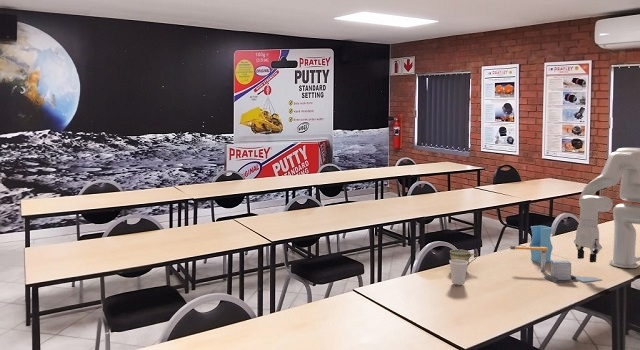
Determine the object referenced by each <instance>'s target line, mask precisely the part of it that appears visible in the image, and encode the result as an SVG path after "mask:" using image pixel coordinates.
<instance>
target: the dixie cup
mask: <svg viewBox="0 0 640 350" xmlns="http://www.w3.org/2000/svg"><path fill="white" fill-rule="evenodd" d="M467 264H468V262H467V261H465V260H458V259H455V260H451V259H449V267H450V276H451V278H450V279H451V284H453V285H458V286H461V285H465V283H466V276H467V272H466V270H468V267H467Z"/></svg>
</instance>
